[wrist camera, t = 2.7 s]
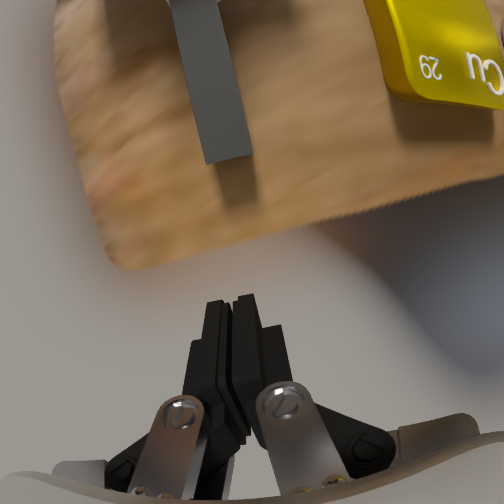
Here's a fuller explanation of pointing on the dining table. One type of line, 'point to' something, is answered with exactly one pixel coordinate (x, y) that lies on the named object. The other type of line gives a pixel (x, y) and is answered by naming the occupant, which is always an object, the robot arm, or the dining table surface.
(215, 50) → the grey and white bar
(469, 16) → the element tile
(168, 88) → the dining table surface
